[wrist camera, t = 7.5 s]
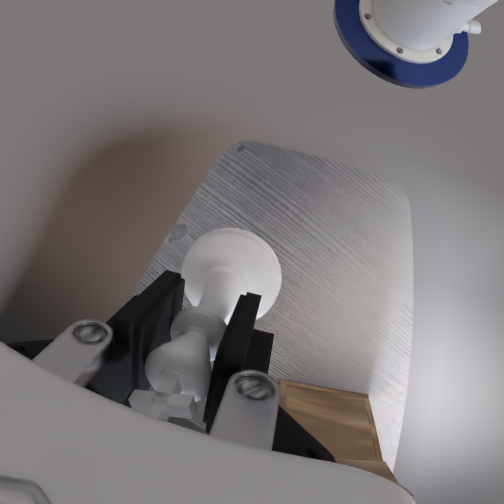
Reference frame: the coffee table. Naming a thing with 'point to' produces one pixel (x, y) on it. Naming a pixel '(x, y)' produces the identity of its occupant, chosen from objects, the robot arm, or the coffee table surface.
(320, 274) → the coffee table surface
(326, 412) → the box
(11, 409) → the robot arm
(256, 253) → the chess piece
